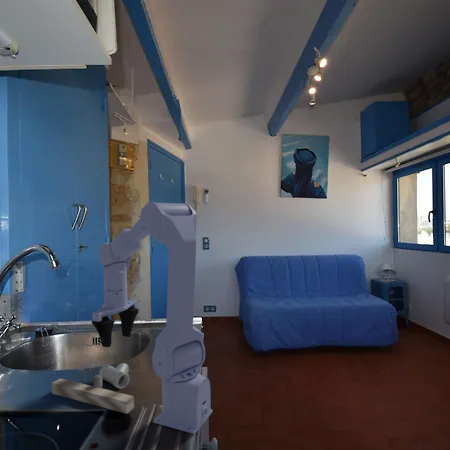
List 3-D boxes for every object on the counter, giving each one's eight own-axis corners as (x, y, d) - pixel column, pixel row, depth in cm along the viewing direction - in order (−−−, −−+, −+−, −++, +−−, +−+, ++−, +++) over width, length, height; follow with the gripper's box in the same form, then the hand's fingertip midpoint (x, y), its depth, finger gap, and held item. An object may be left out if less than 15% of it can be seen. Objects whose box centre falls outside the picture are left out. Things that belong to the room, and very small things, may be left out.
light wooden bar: (139, 403, 73) (139, 383, 73) (126, 413, 69) (126, 392, 69) (67, 385, 82) (66, 367, 82) (52, 393, 78) (51, 374, 78)
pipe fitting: (122, 373, 89) (98, 381, 84) (123, 359, 89) (99, 365, 84) (140, 382, 84) (116, 391, 78) (141, 367, 84) (117, 374, 79)
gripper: (122, 282, 94) (123, 330, 94) (82, 293, 81) (83, 349, 81) (142, 284, 91) (143, 333, 91) (104, 295, 78) (106, 353, 78)
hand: (116, 341), depth 86 cm, fingers open, 7 cm apart
